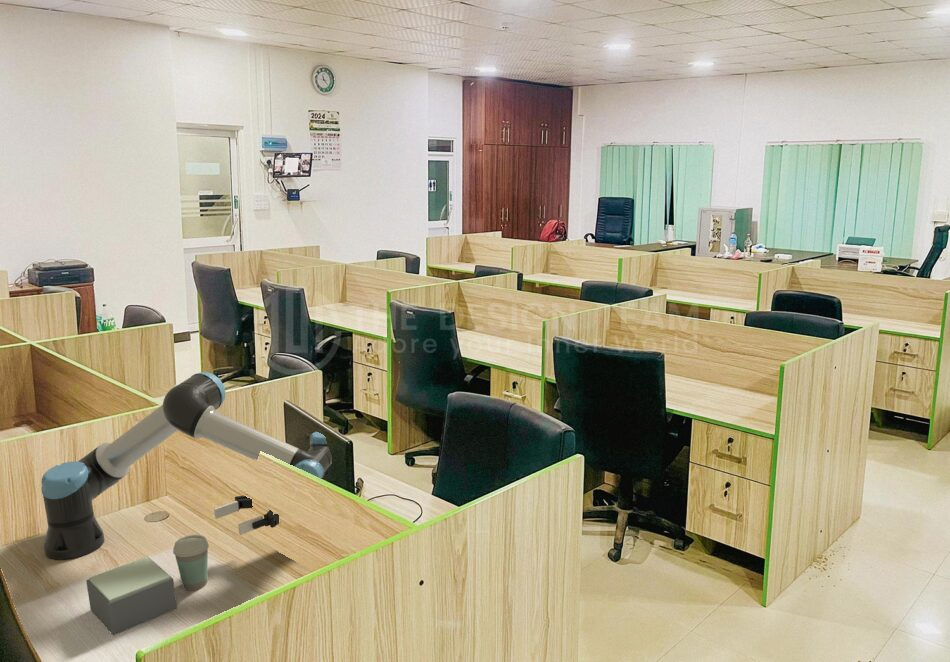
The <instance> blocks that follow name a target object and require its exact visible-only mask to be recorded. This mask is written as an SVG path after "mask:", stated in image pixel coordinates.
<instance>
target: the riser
mask: <svg viewBox="0 0 950 662" xmlns="http://www.w3.org/2000/svg"><path fill="white" fill-rule="evenodd" d="M85 581H86V588H87V594H88V600H89V601H88V602H89V608H90V611H91V612H92V613H93V615H94V616H95V617H96V616H97V617H96V618H97V619H98V620H99V621H100V623H103V624H104V625H103V624H102V625H103V626H104V627H105V628H106V630H108V631H110V632H111V633H110V632H109V633H110V634H111V635H112V636H115V634H116V635H117V634H120V633H123V632H125V631H127V630H130V629H132V628H135V627H136V626H139V625H142V624H144V623H147V622H149V621H151V620H154V619H156V618H158V617H161V616H163V615H165V614H167V613H169V612H174V611H175V610H177V609H178V604H177V597H176V590H175V589H176V588H175V582H174V578H173V577H172V576H171V575H170V574H168V573H167V572H166V571H165V570H164V569H163V568H162V567H161V566H159V564H157V563H156V562H155V561H153V559H152V558H150V557H149V556H145V557H141V558H139V559H137V560H134V561H131V562H128V563H126V564H123V565H120V566H117V567H115V568H112V569H109V570H106V571H104V572H101V573H98V574H96V575H93V576H90V577H88V578H87V579H86V580H85ZM160 615H161V616H160Z"/></svg>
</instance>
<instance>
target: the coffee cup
mask: <svg viewBox="0 0 950 662" xmlns="http://www.w3.org/2000/svg"><path fill="white" fill-rule="evenodd" d="M209 546H210V545H209V541H208V540H207V538H206V536H204V535H201V534H190V535H186V536H183V537H180V538H179V539H177V540H176V541H175V542H174V545H173V549H172V552H173V555H174V557H175V561H176V563H177V567H178V572H179V575H180V579H181V584H182V586H183V589H184V590H186V591H196V590H199V589H202V588H204V587H206V585H207V584H208V565H209V564H208V551H209V550H208V549H209Z"/></svg>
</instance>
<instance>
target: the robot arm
mask: <svg viewBox="0 0 950 662" xmlns="http://www.w3.org/2000/svg"><path fill="white" fill-rule="evenodd" d="M163 398H164V399H163V401H162V404H161V405H160V406H159V407H158V408H156V409H155V410H154V411H152V412H151V413H150V414H148V415H146V416H145V417H144V418H142V420H140V421H139V422H137V423H136V424H135V425H133V426H132V427H130V429H128V430H127V431H125V432H124V433H123V434H121V435H120V436H119V437H117V438H116V439H114V440H113V441H112V442H111V443H110V442H103V443H101V444H99V446H96V448H94V449H92V451H90V452H89V453H88V454H86V455H84V457H82V458H80V459H79V460H78V461H74V460H73V461H67V462H63V463H61V464H57V465H54V466H52V467H50V468H49V469H47V471H46V472H44V474H43V475H42V477H41V490H40V491H41V494H42V498H43V503H44V509H45V515H46V520H47V521H46V522H47V530H46V535H45V540H44V546H43V549H44V553H45V554H44V555H45V556H46V557H47V558H50V559H52V560H68V559H75V558H79V557H83V556H86V555H88V554H90V553H93V552H95V551H97V550H98V549H99V548H100V547H102V546H103V544H104V543H105V533H104V531H103V529H102V527H101V525H100V524H99V522H98V521H97V519H96V517H95V514H94V513H95V512H94V506H93V500H94V499H97V497H99V496H100V495H101V494H103V493H104V492H105V491H107V490H108V489H109V488H111V487H112V486H114V485H116V484H117V483H118V482H120V480H122V479H123V478H124V477H125V476H127V475H128V474H129V471H130V467H131V466H132V465H133V464H135V463H136V462H137V461H139V460H140V459H141V458H143V457H144V456H145V455H146V454H148V453H150V452H151V451H152V450H153V449H155V448H157V447H158V446H159V445H160V444H162V443H163V442H164V441H166V440H167V439H169V438H170V437H172V436H173V435H174V434H175V433H177V432H178V431H179V432H182V434H185V435H186V436H189V437H192V438H193V439H200V438H203V439H206V440H208V441H210V442H212V443H215V444H217V445H219V446H222V447H224V448H226V449H229V450H231V451H233V452H236V453H237V454H240V455H243V456H245V457H246V458H249V459H251V460H254V461H256V460H257V459H258V456H259V453H260V451H262V452H264V453H266V454H269V455H272V456H274V457H275V458H277V459H280V460H282V461H284V462H286V463H288V464H290V465H293V466H295V467H297V468H299V469H302V470H304V471H306V472H308V473H311V474H313V475H315V476H317V477H319V478H321V479H322V478H323V479H325V480H328V469H329V467H330V466H331V464H332V455H331V452H330V449H329V447H328V446H327V441H326V437H325V436H324V435H323V434H321V433H319V432H317V431H315V432H313V433H311V435H310V436H309V446H310V448H309V449H308V451H305V450H303V449H300V448H298V447H296V446H294V445H291V444H289V443H287V442H285V441H283V440H280V439H278V438H277V437H273V436H271V435H270V434H268V433H265V432H262V431H260V430H258V429H257V428H256V429H255V428H254V427H252V426H249V425H247V424H245V423H242V422H239V421H238V420H236V419H233V418H231V417H229V416H227V415H225V414H223V413H220V412H218V411H216V410H218V409H219V408H220V407H221V406H222V405H223V403H224V401H225V399H226V389H225V385H224V384H223V382H222V380H221V379H220V378H219V377H218V376H217V375H215V374H214V373H210V372H207V371H201V372H198V373H194V374H193V375H191V376H190V377H189V378H187V379H185V380H184V381H182V382H181V383H179V384H178V385H176V386H174V387H172V388H171V389H170V390H169V391H168V392H167V393H166V394H165V396H164V397H163ZM255 459H256V460H255ZM328 481H330V480H328ZM244 495H245V494H244ZM244 495H237V496H235V497H234V501H232V502H229V503H227V504H223V505H220V506H218V507H215V508H213V511H214V519H217V520H218V519H220V518H222V517H226V516H229V515H231V514H234V513H237V512H240V510H243V509H253V508H252V507H253V506H252V499H250V498H247V497H246V496H244ZM279 524H280V523H279V515H278V514H274V515H273V512H272V511H271V510H269V509H268V511H267V513H265V514H263V515H259V516H256V517H254V518H250V519H248V520H246V521H243V522H241V523H238V524H237V526H238V533H239V535H245V534H246V533H249V532H250V533H251V532H252V531H254V530H257V529H259V528H262V527H270V528H272V529H273V528H276V527H277V526H278V525H279Z"/></svg>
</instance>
